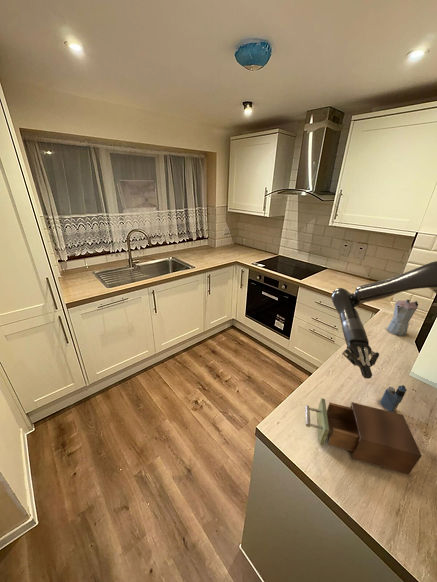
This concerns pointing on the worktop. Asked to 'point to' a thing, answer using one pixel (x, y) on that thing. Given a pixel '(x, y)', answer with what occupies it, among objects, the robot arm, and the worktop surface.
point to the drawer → (335, 425)
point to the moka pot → (402, 317)
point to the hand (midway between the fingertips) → (368, 377)
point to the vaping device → (393, 398)
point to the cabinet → (384, 439)
